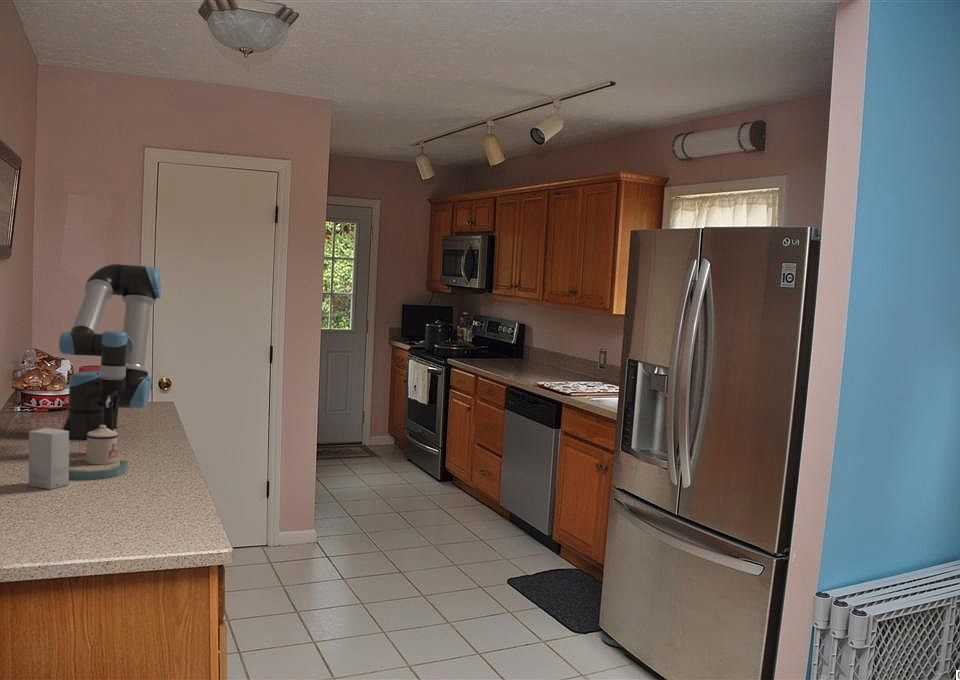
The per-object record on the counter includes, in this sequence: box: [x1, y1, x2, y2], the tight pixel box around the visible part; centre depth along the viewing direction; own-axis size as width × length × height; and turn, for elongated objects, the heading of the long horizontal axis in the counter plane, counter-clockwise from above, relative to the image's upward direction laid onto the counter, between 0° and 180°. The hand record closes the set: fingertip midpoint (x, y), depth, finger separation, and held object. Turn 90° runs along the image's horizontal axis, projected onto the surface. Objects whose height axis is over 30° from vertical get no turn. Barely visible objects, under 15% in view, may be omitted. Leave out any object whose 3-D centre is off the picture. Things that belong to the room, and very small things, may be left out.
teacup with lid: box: [85, 425, 119, 466], centre depth 251 cm, size 12×9×12 cm
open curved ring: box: [69, 458, 129, 481], centre depth 236 cm, size 16×20×2 cm
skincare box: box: [28, 427, 70, 490], centre depth 219 cm, size 8×7×16 cm
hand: (109, 448), depth 261 cm, fingers closed
